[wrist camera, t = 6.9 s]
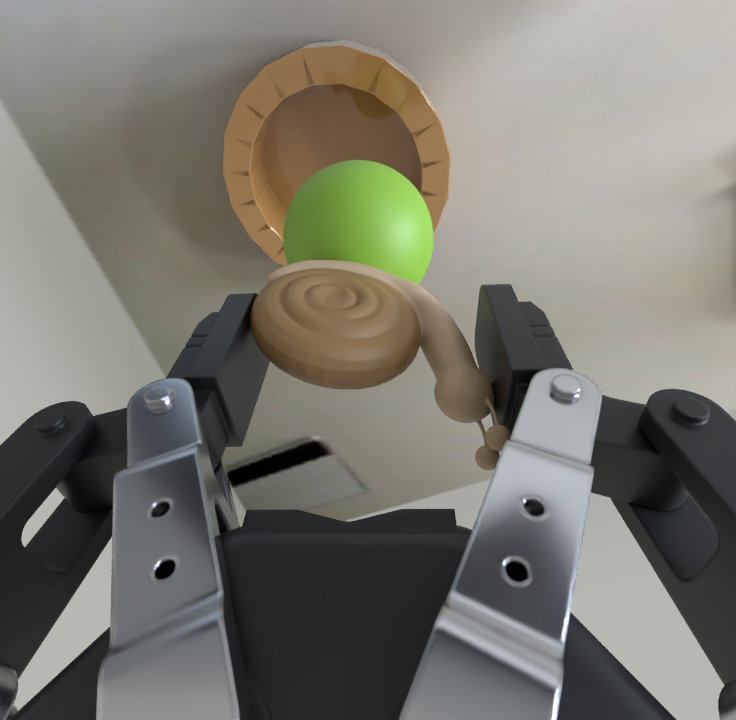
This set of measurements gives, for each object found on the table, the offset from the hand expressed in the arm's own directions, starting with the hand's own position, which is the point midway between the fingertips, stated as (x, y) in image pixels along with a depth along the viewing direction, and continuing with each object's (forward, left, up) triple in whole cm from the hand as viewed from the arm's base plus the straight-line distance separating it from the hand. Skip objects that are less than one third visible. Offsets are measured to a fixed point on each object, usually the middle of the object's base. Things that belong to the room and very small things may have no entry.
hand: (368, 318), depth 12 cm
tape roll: (+2, -3, -23) cm, 24 cm away
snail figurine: (0, 0, -8) cm, 8 cm away
